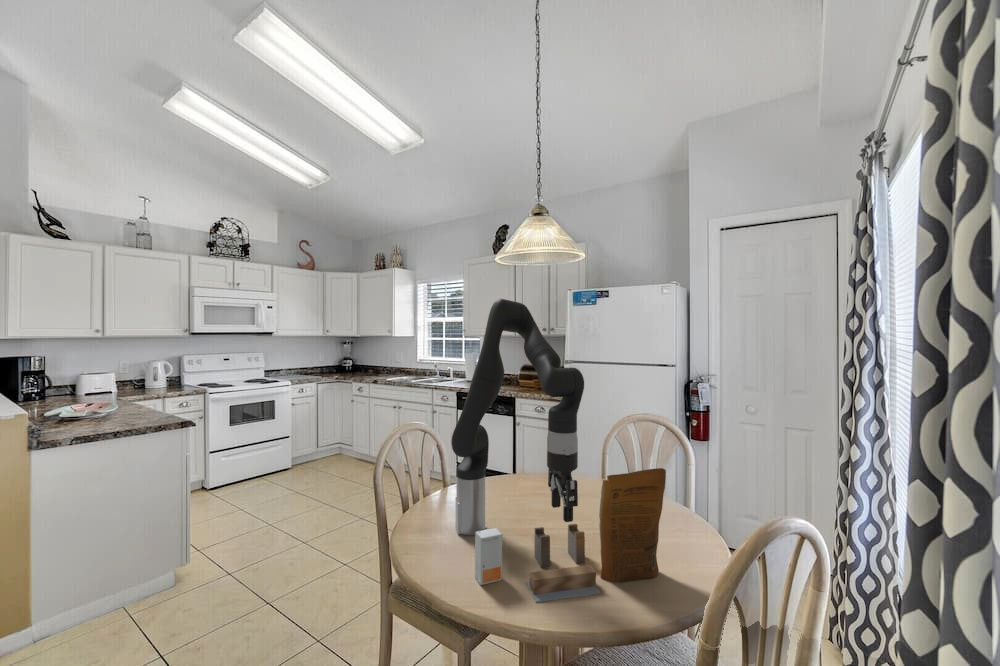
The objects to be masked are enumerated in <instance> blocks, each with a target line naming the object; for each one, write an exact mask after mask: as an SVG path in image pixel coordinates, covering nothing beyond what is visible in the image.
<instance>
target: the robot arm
mask: <svg viewBox="0 0 1000 666" xmlns="http://www.w3.org/2000/svg"><path fill="white" fill-rule="evenodd" d="M486 323H487V324H486V327H485V331H484V332H485V333H484V337H483V342H482V345H481V349H480V352H479V355H478V360H477V362H476V366H475V368H474V371H473V374H472V378H471V381H470V384H469V389H468V392H467V395H466V399H465V401H464V403H463V408H462V411H461V413H460V416H459V418H458V421H457V423H456V424H455V427H454V429H453V432H452V434H451V435H452V436H451V440H450V442H451V443H450V444H451V449H452V451H453V453H454V455H456V456H457V457H460V458H463V459H462V460H461V462H460V463H459V464H458V465H457V467H456V480H455V481H456V483H455V484H456V487H455V489H456V490H455V491H456V496H455V529H456V533H457V535H463V536H464V535H465V536H475V532H477V531H483V530H486V470H487V468H488V464H489V445H490V443H489V442H490V441H489V435H488V432H487V430H486V428H485V427H484V426H483V425H482V424H481V421H482V420H483V417H484V416H485V414H486V413H487V412H488V410H489V409H490V407H491V406H492V405H493V403H494V402H495V401H496V399H497V397H498V396H499V393H500V390H501V387H502V385H503V381H504V377H505V368H504V364H503V359H502V355H501V350H500V343H501V338H502V334H503V332H509V333H516V334H518V335H519V336H521V338H523V340H524V342H523V351H524V355H525V357H526V358H527V360H528V361H529V363H530V364H531V365H532V366H533V368H534V369H535V371H536V374H537V377H538V380H539V384H540V387H541V390H542V391H543V392H544V393H545V394H546V395H547V396H549V397H551V398H561V399H560V400H561V401H560V402H559V403H557V404H555V405H553V406H552V407H550V408H549V409H548V413H547V417H548V418H547V419H548V423H547V424H548V425H547V426H548V427H547V436H546V437H547V440H546V467H547V468H548V473H547V474H548V476H547V478H548V479H547V480H548V482H547V487H549V490H550V492H551V507H552V508H560V507H561V505H562V504H563V507H562V509H563V511H562V512H563V513H562V514H563V515H562V517H563V518H562V519H563V521H564V522H565V523H571V522H573V521H574V507H578V505H579V502H578V500H579V498H578V497H579V496H578V491H579V490H578V481H577V480H575V479H573V477H572V473H573V471H576V470H577V469H578V467H579V466H578V464H579V462H578V461H579V459H578V454H579V448H578V446H579V444H578V443H579V441H578V419H577V418H578V412H579V408H580V406H581V402H582V398H583V394H584V390H585V378H584V376H583V373H582V372H581V371H580V369H579V368H576V367H561V364H562V363H561V362H562V361H561V357H560V355H559V354H558V352H556V350H555V349H554V347H552V345H550V343H549V342H548V341H547V339H546V338H545V337H544V336H543V334H542V332H541V330H540V329H539V326H538V325H537V323H536V321H535V319H534V317H533V315H532V313H531V310H529V308H528V307H527V306H526V305H525V304H524V303H522V302H519V301H513V300H510V299H509V300H508V299H504V298H499V299H496V300H495V301H494V302H493V303H492V305H491V308H490V310H489V313H488V317H487V322H486ZM561 500H562V504H561Z"/></svg>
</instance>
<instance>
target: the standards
mask: <svg viewBox="0 0 1000 666" xmlns="http://www.w3.org/2000/svg"><path fill="white" fill-rule="evenodd" d="M585 539H586V538H585V531H584V530H582V531H580V530H579V529H578V524H577V523H571V524H568V525H567V554H568V555H569V556H570V557H571V559H572V560H573V562H574V563H575V565H576V564H584V563H585V562H586V561H585V559H586V558H585V557H586V555H585V553H586V551H585V550H586V548H585V547H586V546H585V545H586V543H585V542H586V540H585ZM534 559H535V560H536V562H537V564H538V565H539V567H540V569H545V568H551V536H550V535H549V534H546V533H545V528H544V527H534Z"/></svg>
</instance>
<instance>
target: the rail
mask: <svg viewBox="0 0 1000 666" xmlns="http://www.w3.org/2000/svg"><path fill="white" fill-rule="evenodd" d="M596 579H597V572H596V570H595V569H594V568H593V567H592V565H591V564H586V565H577V566H570V567H562V568H555V569H546V570H538V571H531V572H530V571H529V581H530V588H531V590H532V592H533V594H534V595H536V594H544V593H551V592H558V591H565V590H572V589H580V588H587V587H594V586H596V585H597V583H596V581H597V580H596Z"/></svg>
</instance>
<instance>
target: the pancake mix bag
mask: <svg viewBox="0 0 1000 666" xmlns="http://www.w3.org/2000/svg"><path fill="white" fill-rule="evenodd" d="M666 477H667V469H665V468H661V467H660V468H651V469H650V468H649V469H643V470H636V471H632V472H627V473H619V474H610V475H606V479H603V480H602V484H601V491H600V505H599V513H598V514H599V538H600V539H599V540H600V558H601V559H600V561H601V572H600V579H602V580H605V581H607V582H611V583H624V582H625V583H626V582H631V581H632V582H634V581H639V580H649V579H655V578H657V576H658V574H659V572H660V570H659V565H658V561H657V560H658V557H657V552H658V551H657V550H658V543H659V538H660V537H659V528H660V520H661V515H662V511H663V504H664V496H665V495H664V494H665V489H666V480H667V478H666Z"/></svg>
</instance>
